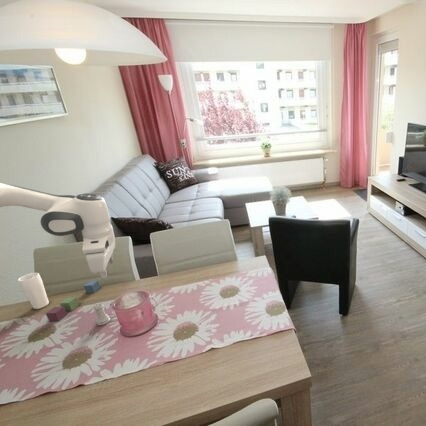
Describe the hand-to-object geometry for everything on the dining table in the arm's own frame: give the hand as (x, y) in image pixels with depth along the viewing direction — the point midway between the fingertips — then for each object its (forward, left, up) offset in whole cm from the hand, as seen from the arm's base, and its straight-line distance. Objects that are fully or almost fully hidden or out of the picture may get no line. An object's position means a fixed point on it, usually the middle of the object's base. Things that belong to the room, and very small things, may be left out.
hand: (107, 269), depth 111 cm
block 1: (-29, +1, -22) cm, 36 cm away
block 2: (-29, +8, -22) cm, 37 cm away
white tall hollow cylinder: (-44, +10, -23) cm, 51 cm away
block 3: (-29, +21, -22) cm, 42 cm away
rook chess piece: (-7, -2, -23) cm, 24 cm away
